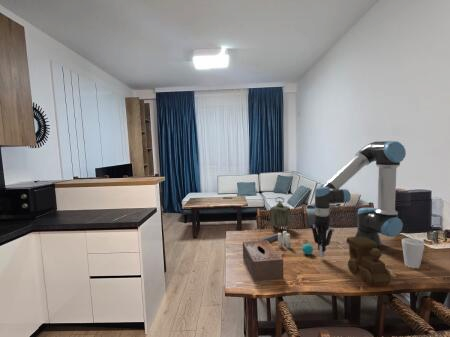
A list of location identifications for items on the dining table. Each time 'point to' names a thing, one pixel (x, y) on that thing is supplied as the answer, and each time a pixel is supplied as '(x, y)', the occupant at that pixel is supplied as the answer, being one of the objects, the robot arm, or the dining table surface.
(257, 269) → the tissue box cover
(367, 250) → the wooden toy train
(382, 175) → the robot arm
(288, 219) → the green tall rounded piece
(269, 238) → the back wall
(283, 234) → the pin
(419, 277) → the dining table surface
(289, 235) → the front pin
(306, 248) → the ball
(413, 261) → the foam cup
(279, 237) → the pin
